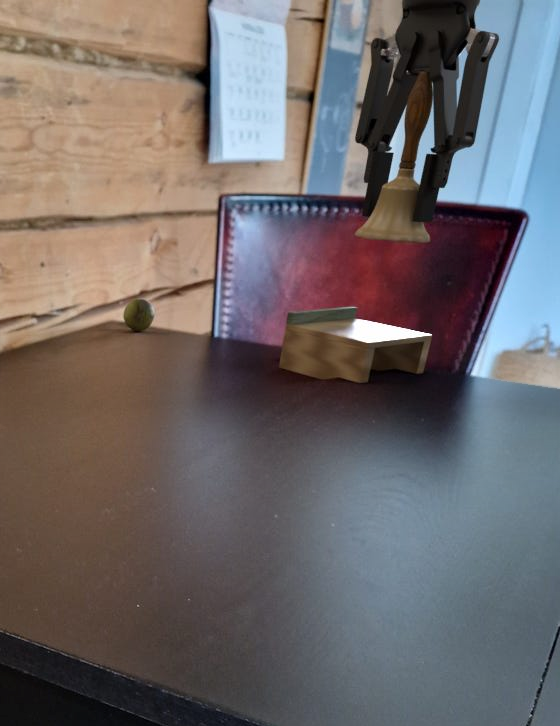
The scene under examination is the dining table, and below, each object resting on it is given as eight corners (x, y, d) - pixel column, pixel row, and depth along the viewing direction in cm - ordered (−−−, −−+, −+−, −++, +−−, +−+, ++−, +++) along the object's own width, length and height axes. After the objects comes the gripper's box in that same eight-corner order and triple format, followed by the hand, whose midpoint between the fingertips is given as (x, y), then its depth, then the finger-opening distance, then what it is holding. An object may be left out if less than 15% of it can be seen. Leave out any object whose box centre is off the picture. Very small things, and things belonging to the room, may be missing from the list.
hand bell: (441, 244, 94) (481, 71, 87) (366, 240, 94) (400, 67, 86) (415, 237, 102) (450, 77, 94) (346, 233, 101) (375, 73, 93)
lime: (118, 329, 141) (120, 297, 138) (141, 328, 143) (144, 296, 141) (134, 334, 138) (137, 302, 135) (158, 332, 140) (161, 300, 138)
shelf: (421, 379, 120) (435, 323, 116) (358, 390, 112) (371, 330, 108) (341, 359, 129) (352, 306, 125) (278, 367, 122) (287, 312, 118)
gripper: (347, -34, 90) (308, 212, 101) (519, -57, 77) (453, 227, 89) (390, -23, 94) (348, 212, 105) (560, -44, 81) (491, 226, 93)
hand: (396, 218), depth 97 cm, fingers closed on hand bell, 6 cm apart
